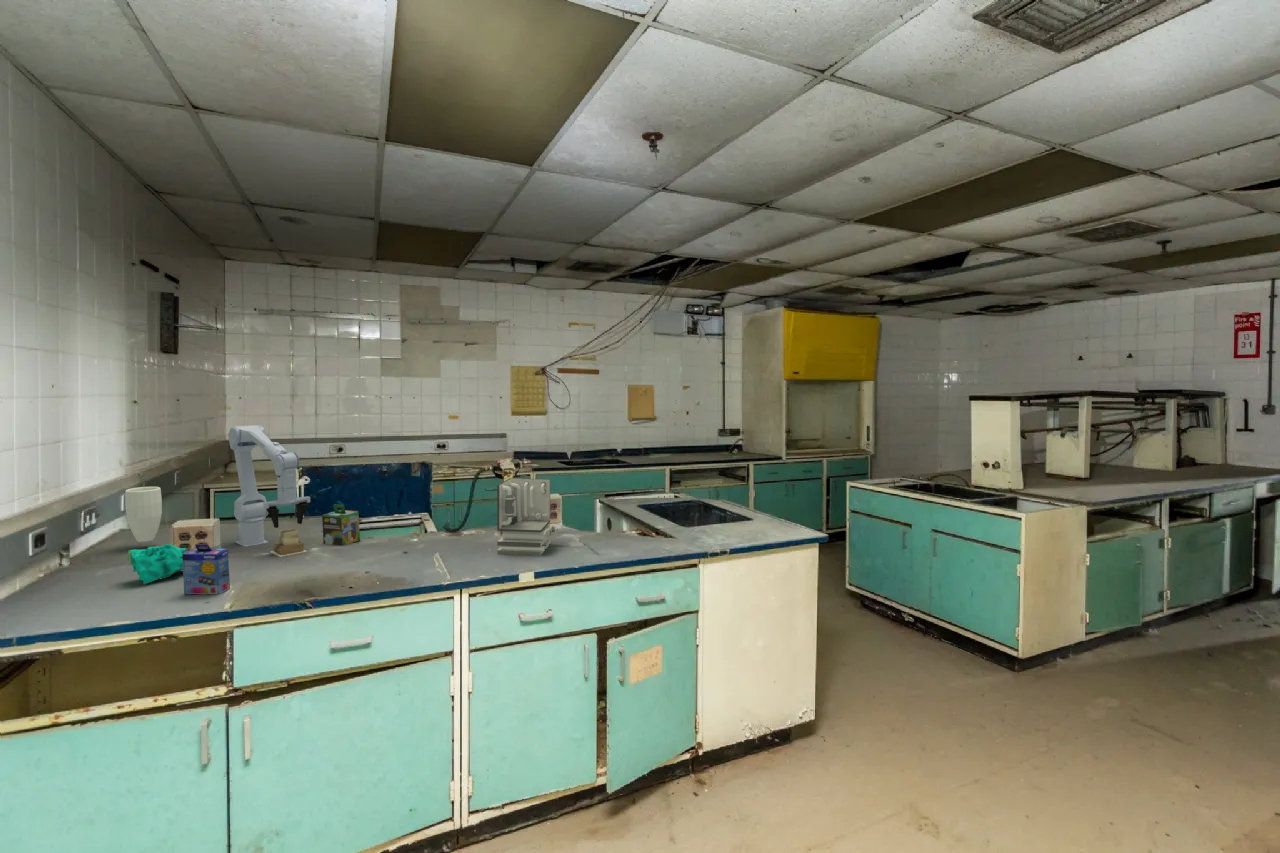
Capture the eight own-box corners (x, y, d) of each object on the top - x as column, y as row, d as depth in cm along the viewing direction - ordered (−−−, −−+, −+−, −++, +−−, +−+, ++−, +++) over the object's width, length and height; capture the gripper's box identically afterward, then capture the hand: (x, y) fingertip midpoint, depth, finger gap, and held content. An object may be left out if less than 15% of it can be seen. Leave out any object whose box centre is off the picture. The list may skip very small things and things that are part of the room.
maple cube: (279, 543, 211) (279, 530, 211) (293, 540, 215) (292, 528, 215) (284, 545, 209) (284, 533, 208) (298, 543, 212) (298, 530, 212)
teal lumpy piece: (142, 550, 189) (185, 529, 192) (160, 583, 189) (203, 562, 192) (111, 555, 174) (158, 532, 177) (130, 591, 174) (177, 568, 177)
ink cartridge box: (182, 595, 170) (180, 545, 169) (195, 588, 175) (193, 540, 174) (219, 595, 171) (217, 545, 170) (230, 588, 176) (228, 540, 175)
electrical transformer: (509, 542, 230) (509, 478, 228) (558, 544, 229) (559, 479, 227) (497, 554, 215) (497, 485, 213) (550, 556, 213) (550, 486, 211)
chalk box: (360, 540, 229) (359, 502, 228) (342, 547, 220) (341, 507, 219) (340, 538, 232) (339, 501, 230) (322, 544, 223) (321, 505, 222)
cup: (169, 543, 221) (167, 485, 220) (157, 551, 212) (154, 490, 210) (135, 545, 218) (132, 486, 216) (121, 553, 208) (117, 492, 207)
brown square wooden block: (274, 551, 212) (273, 543, 211) (295, 547, 217) (295, 539, 217) (282, 555, 207) (281, 547, 207) (303, 551, 213) (303, 542, 212)
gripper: (268, 491, 202) (269, 531, 203) (313, 486, 213) (314, 523, 214) (260, 488, 207) (261, 527, 208) (305, 483, 218) (306, 520, 219)
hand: (288, 525), depth 211 cm, fingers open, 7 cm apart
